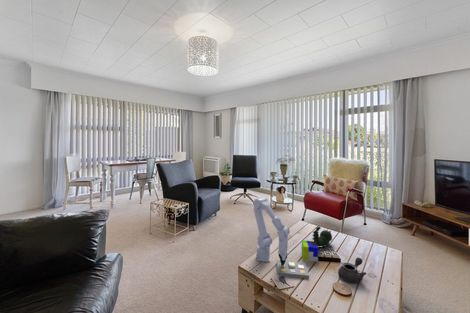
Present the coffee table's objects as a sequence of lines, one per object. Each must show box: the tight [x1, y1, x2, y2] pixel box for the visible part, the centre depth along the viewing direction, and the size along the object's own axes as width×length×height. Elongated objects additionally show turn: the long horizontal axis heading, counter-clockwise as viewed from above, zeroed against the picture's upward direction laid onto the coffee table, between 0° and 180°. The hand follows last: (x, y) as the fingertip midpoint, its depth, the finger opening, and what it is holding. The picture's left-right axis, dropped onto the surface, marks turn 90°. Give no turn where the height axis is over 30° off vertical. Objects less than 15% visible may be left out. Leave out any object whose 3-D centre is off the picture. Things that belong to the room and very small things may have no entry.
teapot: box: [337, 257, 367, 284], centre depth 131 cm, size 19×15×10 cm
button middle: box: [289, 261, 295, 268], centre depth 138 cm, size 4×4×2 cm
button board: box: [276, 259, 310, 279], centre depth 137 cm, size 19×14×2 cm
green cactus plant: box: [312, 225, 333, 247], centre depth 171 cm, size 9×19×25 cm
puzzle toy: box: [301, 239, 319, 262], centre depth 153 cm, size 10×10×10 cm
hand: (282, 264), depth 139 cm, fingers closed, pressing on button left
